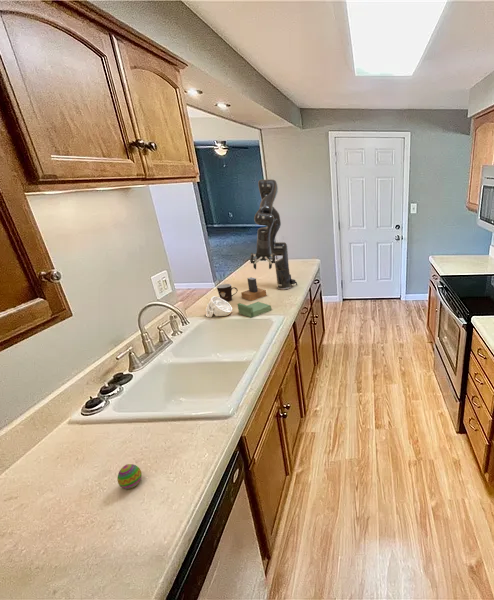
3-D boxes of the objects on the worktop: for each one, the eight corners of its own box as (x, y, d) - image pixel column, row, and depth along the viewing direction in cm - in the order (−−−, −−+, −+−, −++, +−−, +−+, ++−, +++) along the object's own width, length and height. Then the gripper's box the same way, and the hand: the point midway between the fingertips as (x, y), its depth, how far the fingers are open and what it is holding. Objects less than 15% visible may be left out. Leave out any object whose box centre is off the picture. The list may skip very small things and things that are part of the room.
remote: (253, 290, 222) (251, 277, 219) (257, 291, 220) (255, 278, 217) (249, 291, 220) (247, 278, 217) (253, 292, 218) (252, 279, 214)
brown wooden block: (257, 293, 229) (256, 287, 227) (266, 295, 223) (265, 290, 222) (242, 298, 219) (241, 292, 218) (251, 300, 214) (250, 295, 213)
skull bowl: (208, 309, 197) (215, 292, 193) (229, 321, 199) (237, 305, 195) (197, 315, 187) (205, 298, 183) (220, 328, 189) (228, 311, 185)
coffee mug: (216, 301, 213) (213, 287, 209) (226, 297, 220) (224, 283, 217) (229, 304, 209) (227, 289, 205) (240, 299, 216) (237, 285, 213)
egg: (138, 489, 84) (131, 472, 82) (116, 493, 83) (109, 475, 81) (146, 474, 89) (141, 457, 87) (126, 477, 88) (120, 460, 86)
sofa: (258, 306, 206) (257, 297, 203) (271, 310, 199) (270, 300, 197) (238, 313, 195) (237, 303, 193) (251, 317, 188) (249, 308, 186)
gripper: (274, 242, 202) (273, 265, 211) (249, 242, 195) (249, 265, 204) (276, 248, 197) (275, 271, 205) (251, 248, 190) (251, 272, 199)
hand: (262, 268), depth 205 cm, fingers open, 8 cm apart
